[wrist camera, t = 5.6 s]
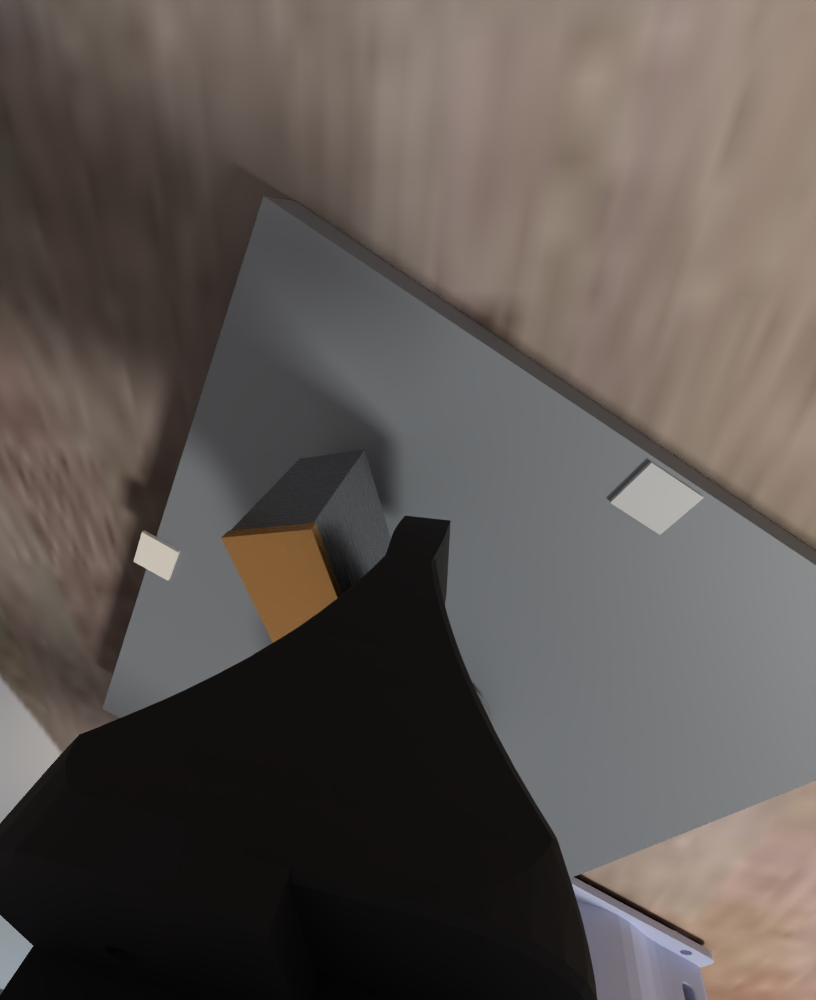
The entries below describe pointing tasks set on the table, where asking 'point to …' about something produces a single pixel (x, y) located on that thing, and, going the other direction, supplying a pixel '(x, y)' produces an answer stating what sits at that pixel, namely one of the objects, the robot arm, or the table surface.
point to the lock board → (496, 547)
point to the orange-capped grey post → (310, 540)
